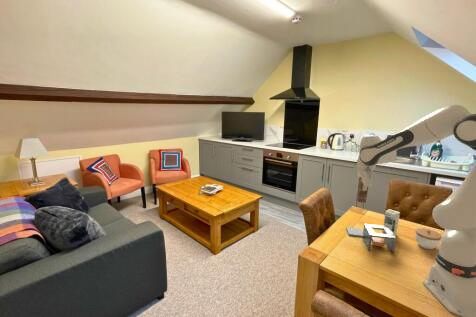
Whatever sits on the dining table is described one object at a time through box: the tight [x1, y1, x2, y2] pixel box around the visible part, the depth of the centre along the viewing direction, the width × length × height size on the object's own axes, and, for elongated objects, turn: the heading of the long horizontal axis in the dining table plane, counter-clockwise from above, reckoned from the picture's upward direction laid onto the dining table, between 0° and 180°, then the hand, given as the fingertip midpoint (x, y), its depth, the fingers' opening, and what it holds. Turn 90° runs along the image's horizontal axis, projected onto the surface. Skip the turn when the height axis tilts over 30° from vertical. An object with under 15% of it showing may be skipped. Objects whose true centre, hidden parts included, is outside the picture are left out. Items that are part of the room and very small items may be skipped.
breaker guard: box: [361, 223, 397, 255], centre depth 127 cm, size 12×12×9 cm
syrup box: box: [381, 208, 401, 236], centre depth 137 cm, size 6×6×14 cm
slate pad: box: [346, 226, 363, 238], centre depth 140 cm, size 8×8×1 cm
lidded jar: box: [414, 227, 442, 250], centre depth 126 cm, size 11×11×9 cm
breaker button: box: [371, 237, 386, 248], centre depth 127 cm, size 5×5×2 cm
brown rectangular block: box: [356, 177, 369, 204], centre depth 132 cm, size 4×4×14 cm
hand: (362, 188), depth 132 cm, fingers closed on brown rectangular block, 4 cm apart
